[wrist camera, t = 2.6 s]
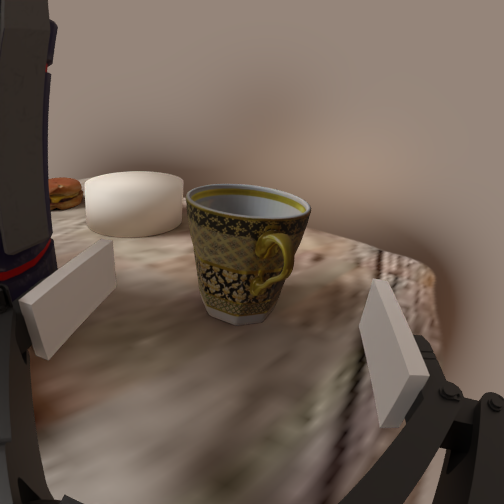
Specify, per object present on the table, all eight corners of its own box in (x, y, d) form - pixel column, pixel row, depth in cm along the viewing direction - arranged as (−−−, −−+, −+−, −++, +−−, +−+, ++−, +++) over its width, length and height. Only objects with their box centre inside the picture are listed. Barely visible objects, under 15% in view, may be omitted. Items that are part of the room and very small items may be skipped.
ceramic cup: (175, 281, 32) (177, 183, 28) (266, 274, 36) (279, 185, 32) (206, 372, 21) (212, 237, 17) (328, 349, 25) (360, 233, 21)
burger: (67, 194, 58) (67, 172, 56) (92, 202, 54) (91, 177, 52) (27, 206, 50) (25, 182, 48) (48, 216, 46) (45, 189, 44)
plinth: (67, 229, 41) (64, 188, 39) (116, 201, 55) (116, 169, 52) (159, 244, 40) (160, 198, 38) (193, 211, 54) (196, 175, 51)
